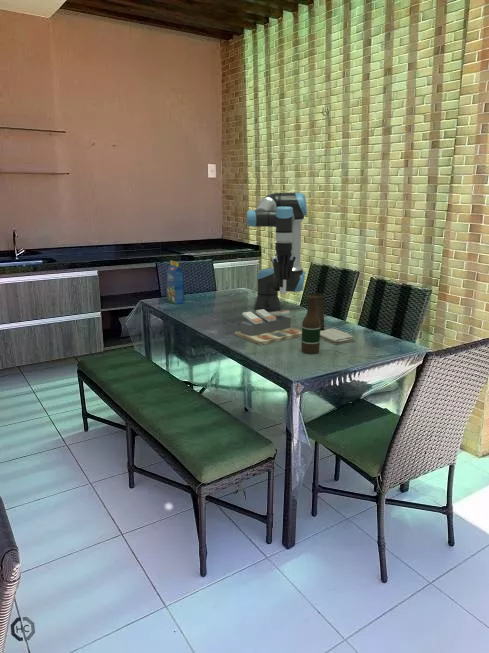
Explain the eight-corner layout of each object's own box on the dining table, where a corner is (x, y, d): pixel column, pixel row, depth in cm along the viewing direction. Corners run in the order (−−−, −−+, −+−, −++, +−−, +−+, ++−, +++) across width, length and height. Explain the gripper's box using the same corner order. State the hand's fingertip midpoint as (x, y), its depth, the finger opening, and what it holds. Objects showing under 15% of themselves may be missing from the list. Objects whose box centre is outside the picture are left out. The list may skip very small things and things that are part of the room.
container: (313, 334, 236) (314, 297, 231) (302, 329, 244) (303, 293, 239) (328, 331, 240) (330, 295, 235) (317, 327, 248) (318, 291, 243)
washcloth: (335, 346, 219) (336, 339, 218) (311, 336, 234) (311, 330, 234) (356, 342, 225) (356, 335, 224) (331, 332, 240) (331, 326, 239)
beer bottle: (299, 348, 214) (301, 294, 208) (317, 348, 215) (319, 293, 209) (303, 354, 207) (304, 298, 200) (321, 354, 207) (323, 297, 201)
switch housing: (279, 324, 247) (280, 314, 246) (290, 327, 241) (290, 317, 240) (240, 332, 234) (240, 322, 232) (250, 336, 227) (250, 325, 226)
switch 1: (249, 315, 236) (250, 310, 235) (262, 324, 229) (262, 319, 228) (242, 316, 234) (242, 312, 233) (254, 326, 227) (255, 321, 226)
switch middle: (262, 313, 241) (263, 308, 240) (275, 322, 234) (276, 317, 233) (255, 314, 238) (256, 309, 237) (268, 323, 231) (269, 318, 230)
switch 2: (276, 315, 245) (275, 310, 245) (289, 315, 237) (288, 309, 237) (269, 317, 243) (268, 312, 243) (282, 316, 235) (281, 311, 235)
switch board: (280, 325, 250) (280, 322, 250) (307, 334, 235) (307, 331, 234) (234, 335, 235) (234, 331, 234) (260, 345, 219) (260, 341, 218)
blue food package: (175, 304, 297) (173, 262, 291) (167, 300, 307) (165, 260, 301) (184, 303, 300) (183, 262, 294) (176, 299, 310) (175, 259, 304)
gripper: (289, 240, 229) (288, 290, 235) (267, 242, 222) (266, 294, 228) (300, 241, 223) (298, 293, 230) (277, 243, 216) (277, 296, 222)
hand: (282, 293), depth 229 cm, fingers closed
